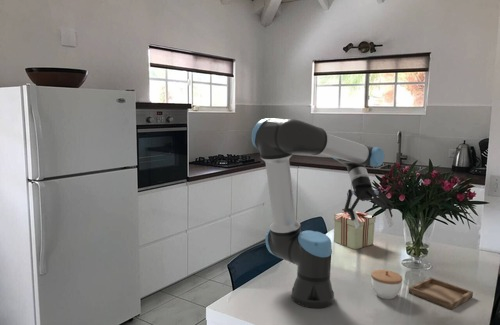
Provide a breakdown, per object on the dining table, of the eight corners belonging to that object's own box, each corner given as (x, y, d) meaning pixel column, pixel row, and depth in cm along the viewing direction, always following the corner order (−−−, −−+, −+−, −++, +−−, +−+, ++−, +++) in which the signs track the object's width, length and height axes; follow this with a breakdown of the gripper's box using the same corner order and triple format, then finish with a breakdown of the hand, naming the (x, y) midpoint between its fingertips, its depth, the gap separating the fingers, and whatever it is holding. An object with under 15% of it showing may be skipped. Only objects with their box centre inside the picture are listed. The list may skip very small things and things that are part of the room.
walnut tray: (451, 309, 137) (452, 303, 137) (408, 292, 150) (409, 287, 150) (472, 297, 147) (472, 291, 147) (430, 282, 160) (430, 277, 159)
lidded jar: (396, 290, 152) (398, 266, 151) (404, 303, 142) (406, 277, 140) (367, 288, 153) (369, 264, 152) (373, 301, 143) (375, 276, 141)
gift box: (327, 243, 206) (329, 210, 203) (349, 236, 217) (351, 205, 215) (355, 252, 193) (357, 217, 191) (377, 245, 205) (379, 212, 202)
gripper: (385, 184, 172) (401, 228, 159) (329, 186, 169) (340, 232, 156) (391, 174, 166) (408, 219, 153) (333, 176, 163) (346, 223, 150)
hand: (374, 226), depth 155 cm, fingers open, 13 cm apart
